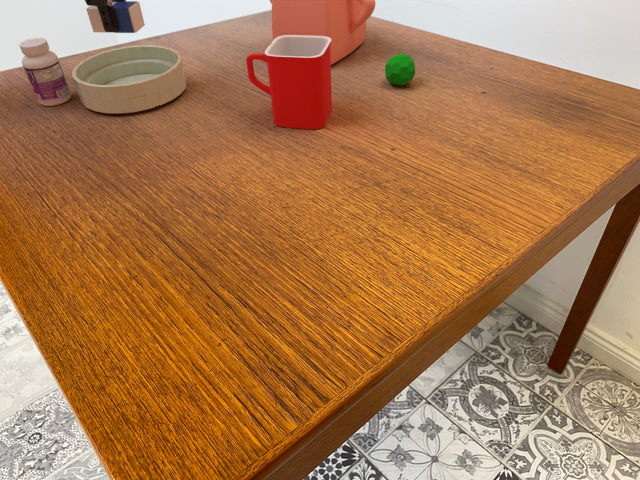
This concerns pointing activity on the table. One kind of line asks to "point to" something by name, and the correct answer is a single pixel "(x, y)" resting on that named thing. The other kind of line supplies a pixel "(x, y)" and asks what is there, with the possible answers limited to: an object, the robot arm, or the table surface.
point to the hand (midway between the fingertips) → (118, 26)
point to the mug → (297, 80)
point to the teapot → (324, 21)
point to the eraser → (119, 17)
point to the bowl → (130, 79)
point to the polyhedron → (400, 69)
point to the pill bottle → (44, 72)
